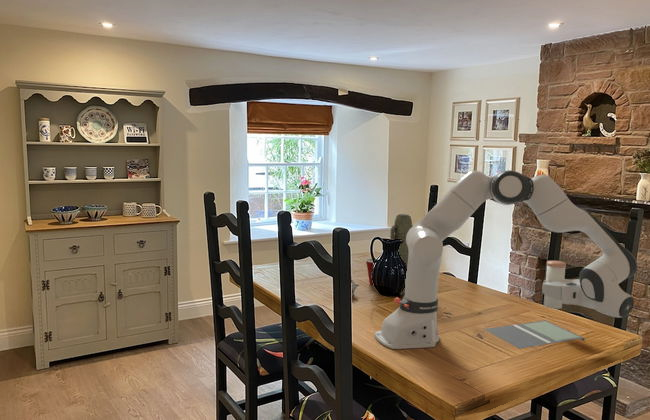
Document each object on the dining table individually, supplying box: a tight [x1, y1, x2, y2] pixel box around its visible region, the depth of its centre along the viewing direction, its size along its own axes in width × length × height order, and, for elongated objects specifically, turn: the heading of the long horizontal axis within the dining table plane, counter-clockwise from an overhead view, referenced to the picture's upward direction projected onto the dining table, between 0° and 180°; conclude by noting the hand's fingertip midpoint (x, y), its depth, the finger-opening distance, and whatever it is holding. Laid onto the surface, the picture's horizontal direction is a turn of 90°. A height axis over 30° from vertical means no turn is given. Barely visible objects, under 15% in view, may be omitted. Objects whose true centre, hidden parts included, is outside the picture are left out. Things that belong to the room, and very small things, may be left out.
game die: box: [350, 276, 360, 296], centre depth 223 cm, size 9×8×10 cm
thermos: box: [389, 213, 414, 296], centre depth 229 cm, size 9×12×35 cm
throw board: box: [483, 319, 585, 350], centre depth 183 cm, size 29×18×1 cm, turn 112°
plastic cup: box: [365, 257, 373, 286], centre depth 241 cm, size 11×11×12 cm
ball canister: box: [543, 260, 567, 310], centre depth 183 cm, size 6×6×16 cm
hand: (552, 281), depth 184 cm, fingers closed on ball canister, 6 cm apart
